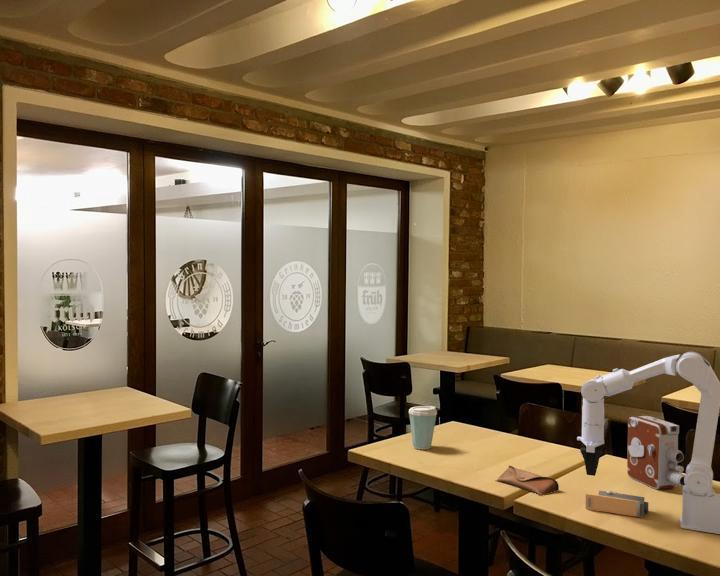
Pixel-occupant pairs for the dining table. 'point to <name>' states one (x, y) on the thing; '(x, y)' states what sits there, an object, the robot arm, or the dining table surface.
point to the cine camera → (654, 452)
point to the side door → (613, 505)
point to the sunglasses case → (528, 481)
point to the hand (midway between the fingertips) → (591, 472)
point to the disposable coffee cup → (422, 425)
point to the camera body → (630, 497)
